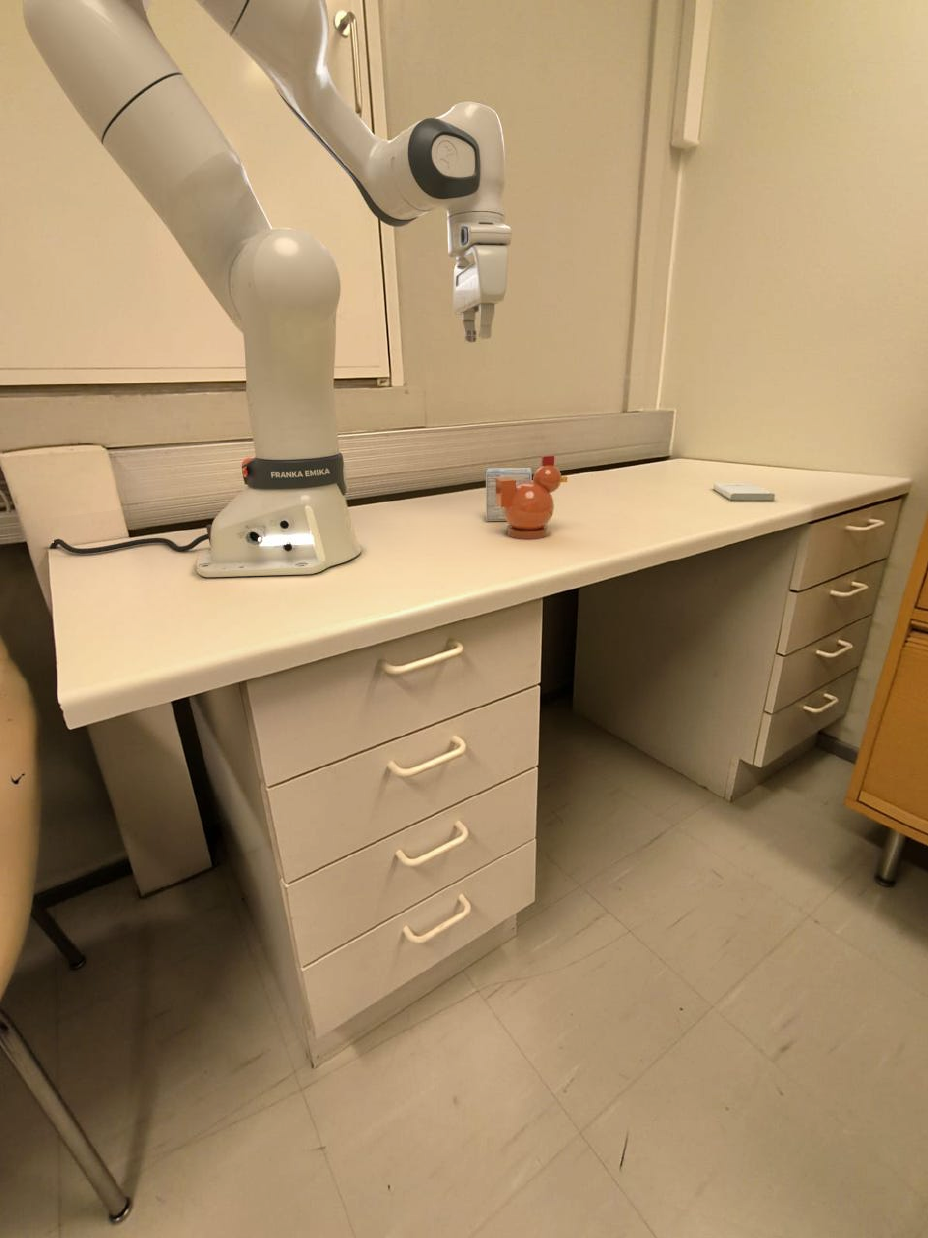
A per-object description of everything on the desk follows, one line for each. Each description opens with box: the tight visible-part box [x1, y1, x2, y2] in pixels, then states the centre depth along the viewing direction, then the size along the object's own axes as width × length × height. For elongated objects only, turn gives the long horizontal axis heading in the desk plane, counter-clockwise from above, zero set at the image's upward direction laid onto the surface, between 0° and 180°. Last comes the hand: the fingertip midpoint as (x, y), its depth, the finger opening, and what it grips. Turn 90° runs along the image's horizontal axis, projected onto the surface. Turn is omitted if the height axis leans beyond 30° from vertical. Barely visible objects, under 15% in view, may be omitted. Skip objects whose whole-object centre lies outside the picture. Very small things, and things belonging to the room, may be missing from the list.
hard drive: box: [712, 482, 776, 502], centre depth 116 cm, size 2×8×12 cm
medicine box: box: [485, 467, 533, 522], centre depth 99 cm, size 8×4×9 cm, turn 85°
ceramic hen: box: [495, 454, 568, 540], centre depth 89 cm, size 11×8×12 cm
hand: (477, 340), depth 93 cm, fingers open, 8 cm apart
